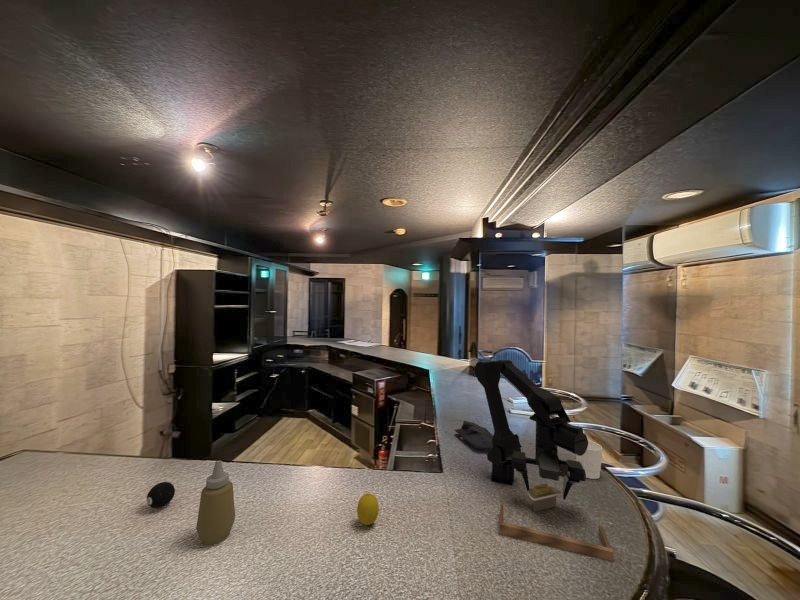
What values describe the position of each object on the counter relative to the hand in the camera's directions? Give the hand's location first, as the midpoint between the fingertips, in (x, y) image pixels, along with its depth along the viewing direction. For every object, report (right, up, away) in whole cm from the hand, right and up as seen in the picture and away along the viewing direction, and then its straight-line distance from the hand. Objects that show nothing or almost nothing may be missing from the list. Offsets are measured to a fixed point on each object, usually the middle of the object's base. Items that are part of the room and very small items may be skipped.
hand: (545, 495), depth 88 cm
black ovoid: (-107, -1, -3) cm, 107 cm away
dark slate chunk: (-8, -5, +45) cm, 46 cm away
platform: (-1, -4, 0) cm, 4 cm away
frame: (-4, -3, -11) cm, 12 cm away
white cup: (+23, -5, +19) cm, 30 cm away
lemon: (-50, -3, -8) cm, 51 cm away
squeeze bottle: (-86, -2, -14) cm, 87 cm away
